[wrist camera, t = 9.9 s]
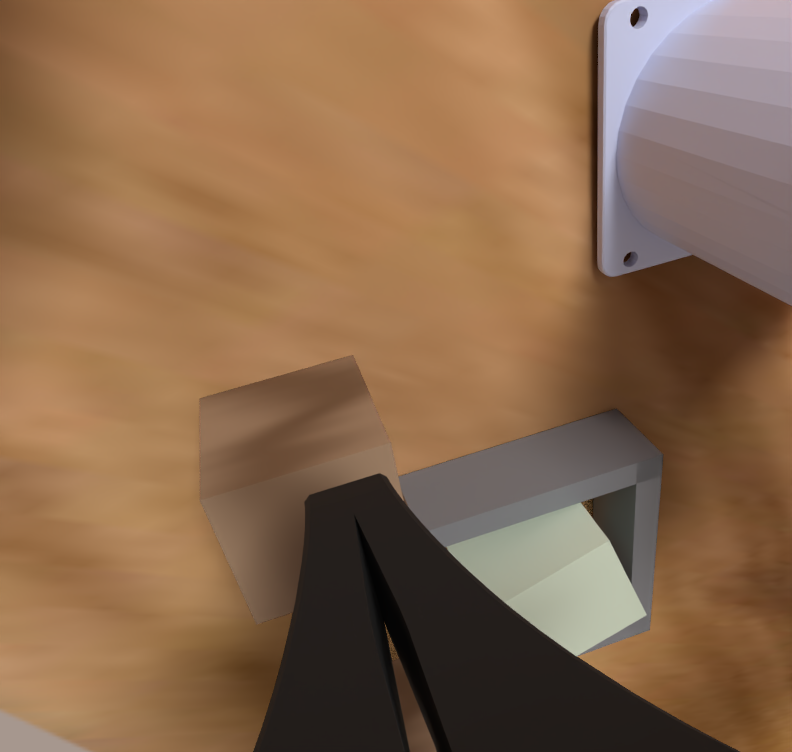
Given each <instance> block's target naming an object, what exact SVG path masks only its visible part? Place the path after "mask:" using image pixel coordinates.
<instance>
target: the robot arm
mask: <svg viewBox="0 0 792 752" xmlns="http://www.w3.org/2000/svg"><path fill="white" fill-rule="evenodd" d="M635 8H637V9H638V10H639V15H640V16H639V20H638V22H637V23H636V25H635V26H634V27H632V26H631V23H630V17H631V13H632V12H633V11H634V9H635ZM629 252H631V256H630V258H629V259H628V261H626V262H623V260H624V257H625V256H626V254H627V253H629ZM690 255H694V256H696V257H698V258H700V259H702V260H704V261H706V262H708V263H710V264H712V265H714V266H716V267H718V268H719V269H721V270H723V271H725V272H727V273H729V274H731V275H733V276H735V277H737V278H739V279H741V280H742V281H744V282H746V283H748V284H750V285H752V286H754V287H756V288H758V289H760V290H762V291H764V292H766V293H767V294H769V295H771V296H773V297H775V298H777V299H779V300H781V301H783V302H785V303H787V304H789V305H791V306H792V0H614V1H612V2H610V3H608V4H607V5H606V6H605V8H604V9H603V10H602V12H601V15H600V17H599V23H598V201H597V265H598V269H599V270H600V271H601V272H602V273H603V274H605V275H607V276H609V277H616V276H619V275H623V274H627V273H630V272H634V271H637V270H641V269H644V268H648V267H651V266H655V265H658V264H662V263H666V262H669V261H673V260H676V259H680V258H683V257H687V256H690ZM304 505H305V533H304V545H303V554H302V563H301V569H300V575H299V581H298V588H297V594H296V600H295V605H294V610H293V615H292V619H291V624H290V628H289V632H288V637H287V641H286V645H285V650H284V654H283V658H282V662H281V665H280V669H279V673H278V676H277V680H276V684H275V687H274V690H273V694H272V697H271V700H270V703H269V707H268V710H267V713H266V716H265V719H264V722H263V725H262V728H261V731H260V734H259V737H258V740H257V742H256V745H255V748H254V751H253V752H410V749H409V744H408V739H407V734H406V729H405V724H404V719H403V714H402V709H401V704H400V699H399V694H398V689H397V684H396V678H395V673H394V668H393V663H392V658H391V653H390V648H389V643H388V638H387V633H386V628H385V625H386V627H387V630H388V632H389V634H390V637H391V639H392V642H393V644H394V647H395V649H396V652H397V654H398V657H399V659H400V662H401V664H402V667H403V669H404V671H405V674H406V676H407V679H408V681H409V684H410V686H411V689H412V691H413V694H414V696H415V698H416V701H417V703H418V706H419V708H420V711H421V713H422V716H423V718H424V721H425V723H426V725H427V728H428V730H429V733H430V735H431V738H432V740H433V743H434V745H435V748H436V751H437V752H740V751H738V750H736V749H734V748H732V747H730V746H728V745H726V744H724V743H722V742H720V741H718V740H716V739H714V738H712V737H711V736H709V735H707V734H705V733H703V732H701V731H699V730H698V729H696V728H694V727H692V726H690V725H688V724H686V723H685V722H683V721H681V720H679V719H677V718H676V717H674V716H672V715H671V714H669V713H667V712H665V711H664V710H662V709H660V708H658V707H657V706H655V705H653V704H652V703H650V702H648V701H646V700H645V699H643V698H641V697H639V696H638V695H636V694H634V693H633V692H631V691H630V690H628V689H627V688H625V687H623V686H622V685H620V684H619V683H617V682H616V681H614V680H613V679H611V678H609V677H608V676H606V675H605V674H603V673H602V672H600V671H599V670H597V669H595V668H594V667H592V666H591V665H589V664H588V663H586V662H585V661H583V660H581V659H580V658H578V657H577V656H575V655H574V654H572V653H571V652H569V651H568V650H567V649H565V648H564V647H562V646H561V645H560V644H558V643H557V642H556V641H554V640H553V639H551V638H550V637H549V636H547V635H546V634H544V633H543V632H542V631H540V630H539V629H538V628H536V627H535V626H534V625H533V624H531V623H530V622H529V621H527V620H526V619H525V618H523V617H522V616H521V615H520V614H518V613H517V612H516V611H515V610H513V609H512V608H511V607H510V606H508V605H507V604H506V603H505V602H504V601H502V600H501V599H500V598H499V597H498V596H496V595H495V594H494V593H493V592H492V591H491V590H489V589H488V588H487V587H486V586H485V585H484V584H483V583H482V582H481V581H479V580H478V579H477V578H476V577H475V576H474V575H473V574H472V573H471V572H469V571H468V570H467V569H466V568H465V567H464V566H463V565H462V564H461V563H460V562H459V561H458V560H457V559H456V558H455V557H454V556H453V555H452V554H451V553H450V552H449V551H448V550H447V549H446V548H445V547H444V546H443V545H442V544H441V543H440V542H439V541H438V540H437V539H436V538H435V537H434V536H433V535H432V534H431V532H430V531H429V530H428V529H427V528H426V527H425V526H424V525H423V524H422V523H421V521H420V520H419V519H418V518H417V517H416V516H415V514H414V513H413V512H412V511H411V510H410V508H409V507H408V506H407V505H406V503H405V502H404V501H403V500H402V498H401V497H400V496H399V494H398V493H397V492H396V490H395V489H394V487H393V486H392V484H391V483H390V481H389V479H388V478H387V476H385V475H383V474H380V473H378V474H375V475H372V476H368V477H365V478H362V479H359V480H356V481H352V482H349V483H346V484H343V485H339V486H336V487H333V488H330V489H327V490H323V491H320V492H317V493H314V494H310V495H309V496H308V497H307V499H306V500H305V502H304ZM384 622H385V623H384Z"/></svg>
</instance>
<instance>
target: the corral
mask: <svg viewBox="0 0 792 752" xmlns="http://www.w3.org/2000/svg"><path fill="white" fill-rule="evenodd" d="M662 465H663V454H662V453H661V452H660V451H659V450H658V449H657V448H656V447H655V446H654V445H653V444H652V443H651V442H650V441H649V440H648V439H647V438H646V437H645V436H644V435H643V434H642V433H641V432H640V431H639V430H638V429H637V428H636V427H635V426H634V425H633V424H632V423H631V422H630V421H629V420H628V419H627V418H626V417H625V416H624V415H623V414H622V413H621V412H620V411H619V410H618V409H614V410H611V411H607V412H604V413H601V414H598V415H595V416H591V417H588V418H585V419H582V420H579V421H575V422H572V423H569V424H566V425H563V426H559V427H556V428H553V429H550V430H547V431H543V432H540V433H537V434H534V435H530V436H527V437H524V438H521V439H518V440H514V441H511V442H508V443H505V444H502V445H498V446H495V447H492V448H489V449H486V450H482V451H479V452H476V453H473V454H470V455H466V456H463V457H460V458H457V459H454V460H450V461H447V462H444V463H441V464H437V465H434V466H431V467H428V468H425V469H421V470H418V471H415V472H412V473H409V474H405V475H402V476H399V482H400V486H401V491H402V496H403V500H404V502H405V503H406V505H407V506H408V507H409V508H410V510H411V511H412V512H413V513H414V514H415V516H416V517H417V518H418V519H419V520H420V521H421V523H422V524H423V525H424V526H425V527H426V528H427V529H428V530H429V531H430V532H431V534H432V535H433V536H434V537H435V538H436V539H437V540H438V541H439V542H440V543H441V544H442V545H443V546H444V547H447V546H450V545H453V544H456V543H459V542H462V541H465V540H468V539H471V538H474V537H477V536H480V535H483V534H486V533H489V532H493V531H496V530H499V529H502V528H505V527H508V526H511V525H514V524H517V523H520V522H523V521H526V520H529V519H532V518H535V517H538V516H541V515H544V514H547V513H550V512H553V511H556V510H559V509H562V508H565V507H568V506H571V505H574V504H577V503H580V502H583V501H586V500H589V499H592V498H593V520H594V521H595V522H596V523H597V525H598V526H599V527H600V529H601V530H602V531H603V533H604V534H605V535H606V537H607V538H608V539H609V541H610V543H611V545H612V547H613V549H614V551H615V553H616V555H617V557H618V559H619V561H620V563H621V565H622V567H623V569H624V571H625V573H626V575H627V577H628V579H629V581H630V583H631V585H632V587H633V589H634V591H635V592H636V594H637V596H638V598H639V600H640V602H641V604H642V606H643V608H644V610H645V612H646V614H647V615H646V616H644V617H643V618H641V619H639V620H637V621H636V622H634V623H632V624H631V625H629V626H627V627H625V628H624V629H622V630H620V631H619V632H617V633H615V634H614V635H612V636H610V637H608V638H607V639H605V640H603V641H602V642H600V643H598V644H596V645H595V646H593V647H591V648H590V649H588V650H586V651H585V652H583V653H581V654H579V655H582V654H585V653H588V652H590V651H593V650H596V649H599V648H601V647H604V646H607V645H610V644H612V643H615V642H618V641H621V640H623V639H626V638H629V637H631V636H634V635H637V634H640V633H642V632H645V631H648V630H650V619H651V606H652V594H653V581H654V568H655V555H656V542H657V529H658V517H659V504H660V491H661V478H662ZM579 655H578V656H579Z"/></svg>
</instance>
